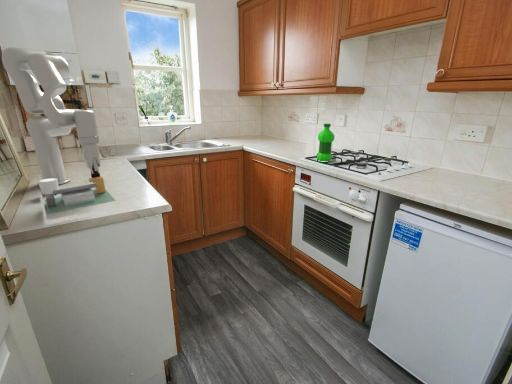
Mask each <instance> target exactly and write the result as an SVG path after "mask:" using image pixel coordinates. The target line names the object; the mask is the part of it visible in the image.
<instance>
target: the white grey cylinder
mask: <svg viewBox="0 0 512 384" xmlns="http://www.w3.org/2000/svg"><path fill="white" fill-rule="evenodd" d="M37 183H38V185H39V189H40V191H41V194H42V195H48V194H53V192H52V191H53V190H60V189H59V185H58V180H57V178H47V179H42V178H41V179H38V181H37Z"/></svg>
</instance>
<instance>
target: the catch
mask: <svg viewBox="0 0 512 384" xmlns="http://www.w3.org/2000/svg"><path fill="white" fill-rule="evenodd" d="M88 182H89V183H93V182H95V183H94V184H96V185H97V187H95V191H96V192H97V193H102V192H106V191H105V189H106V187H105V186H106V185H105V180H104V177H103V176H100V177H95V178H92V177H89V178H88Z"/></svg>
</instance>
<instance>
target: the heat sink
mask: <svg viewBox="0 0 512 384" xmlns="http://www.w3.org/2000/svg"><path fill="white" fill-rule="evenodd" d="M93 191H94V190H93V188H89V189H84V190H78V191H73V192H67V193H62V194H60V195H61V196H60V197H62V200H63V202H64V205H65V207H68V206H73V205H78V204H83V203H89V202H94V201H95V197H94V193H93ZM44 195H45V196H44V197H45V200H46V201H47V204H48V208H51V207H57V206H56V202H55V198H56V197H55V195H53V194H44Z"/></svg>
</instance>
